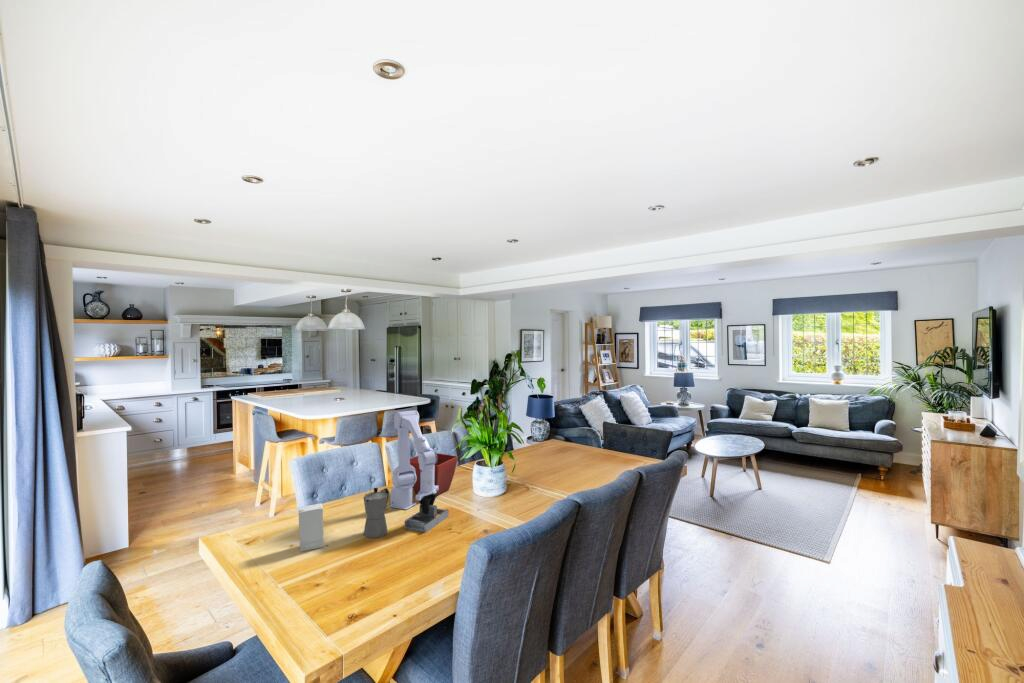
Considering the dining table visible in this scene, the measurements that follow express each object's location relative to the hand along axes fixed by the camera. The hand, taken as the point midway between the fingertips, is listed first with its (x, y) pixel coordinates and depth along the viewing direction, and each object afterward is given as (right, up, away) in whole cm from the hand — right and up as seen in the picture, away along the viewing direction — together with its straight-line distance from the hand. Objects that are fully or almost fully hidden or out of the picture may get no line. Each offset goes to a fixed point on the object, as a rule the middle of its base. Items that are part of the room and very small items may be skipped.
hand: (427, 512), depth 193 cm
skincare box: (-39, -4, -23) cm, 45 cm away
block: (0, -3, 0) cm, 3 cm away
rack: (0, -4, 0) cm, 4 cm away
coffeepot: (-18, -5, -10) cm, 21 cm away
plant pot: (-5, -4, +39) cm, 39 cm away
